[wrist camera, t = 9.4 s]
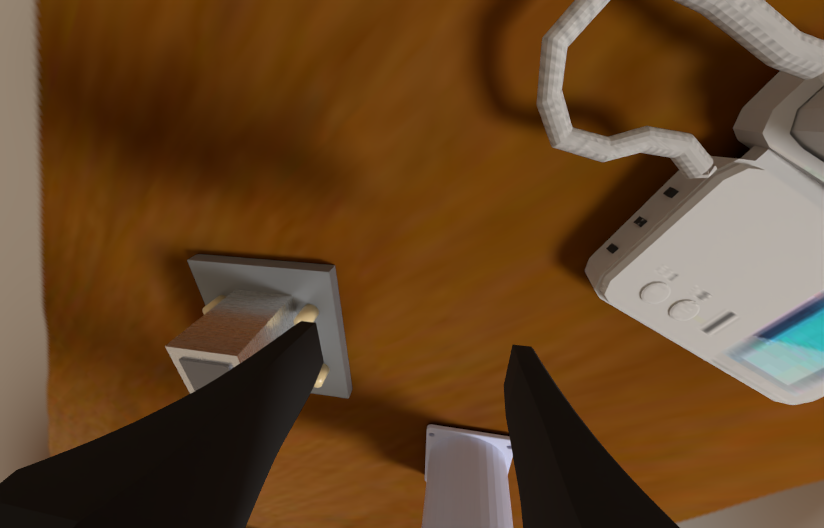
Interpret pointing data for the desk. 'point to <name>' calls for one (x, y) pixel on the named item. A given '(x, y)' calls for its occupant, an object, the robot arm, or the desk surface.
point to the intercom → (722, 212)
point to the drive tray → (310, 295)
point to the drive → (230, 335)
